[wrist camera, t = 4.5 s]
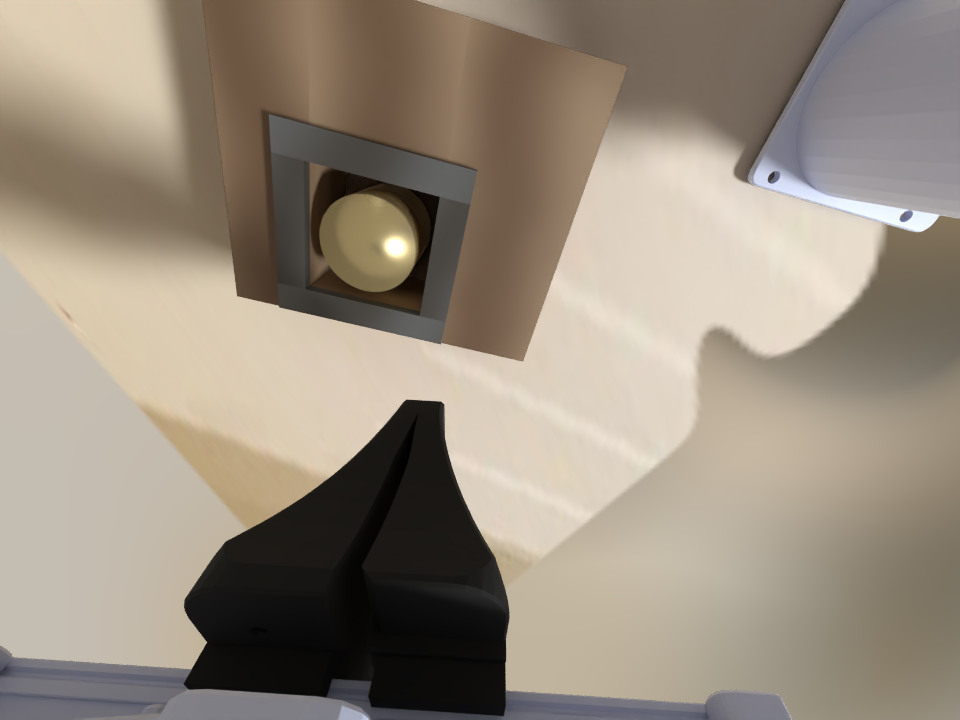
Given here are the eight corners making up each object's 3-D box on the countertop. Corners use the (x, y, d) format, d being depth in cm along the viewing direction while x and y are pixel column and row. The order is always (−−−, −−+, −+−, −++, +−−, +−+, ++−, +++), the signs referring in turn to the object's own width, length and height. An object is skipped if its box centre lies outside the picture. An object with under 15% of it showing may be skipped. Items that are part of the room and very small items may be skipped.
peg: (437, 195, 18) (422, 208, 14) (424, 272, 20) (408, 301, 16) (355, 173, 18) (319, 182, 14) (351, 254, 20) (318, 279, 16)
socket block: (599, 83, 16) (632, 64, 12) (518, 326, 22) (523, 366, 18) (266, -19, 14) (182, -78, 11) (280, 270, 21) (230, 300, 17)
